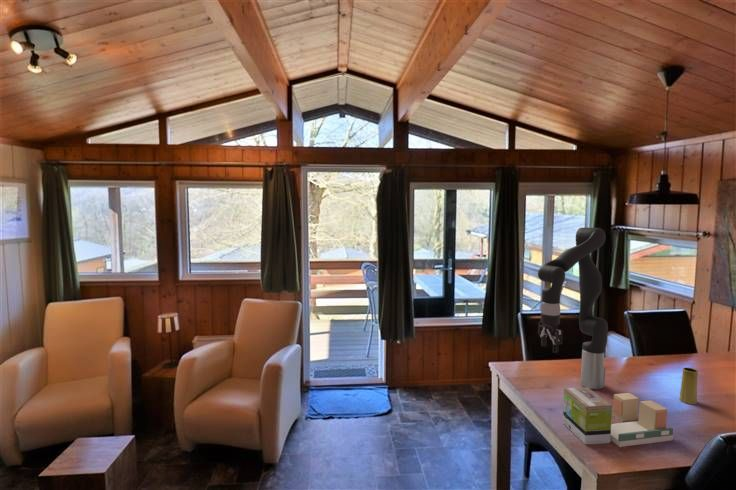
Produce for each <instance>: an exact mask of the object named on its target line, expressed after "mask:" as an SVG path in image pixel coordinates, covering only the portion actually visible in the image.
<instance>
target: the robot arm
mask: <svg viewBox="0 0 736 490" xmlns="http://www.w3.org/2000/svg"><path fill="white" fill-rule="evenodd" d="M605 242H606V232H605V230H604V229H602V228H600V227H580V228H578V229H577V230H576V233H575V246H573V247H570V248H568V249H565V250H564V251H563V252H561V254H560V255H558V256H557V257H556V258H554V259H552V260H550V261H547V262H546V263H544V264H543V265H542V266H541V265H540V268H539V270H538V271H537V277H538V279H539V280H540V281H542V282H545V283H550V284H551V286H549V287H544V288H543V289H542V290H541V304H540V305H541V306H540V321H539V322H538V324H537V325H538V327H537V335H538V336H539V337H540V339H541V340H540V345H541V347H547V346H548V345H547V343H548V338H547V337H549V339H550V340H551V342H552V353H553V354H558V353H559V351H560V345H563V343H564V342H563V339H564V337H563V335H564V334H563V330H562V329H558V326H559V325H560V323H561V302H560V301H561V299H560V298H561V292H562V291H561V290H562V288H563V286H564V285H563V284H564V281H565V279H566V272H568V271H569V270H571V269H572V268H573V267H574V266H575V265H576V264H577V263H578V282H579V302H580V303H579V304H580V305H579V315H578V316H579V319H578V324H579V327H578V328H579V330H580V331H581V333H582V334H585V335H587V336H590V337H591V341H585V342H583V343H582V347H581V348H582V350H581V370H580V385H581V386H582V387H588V388H589V389H590V390H597V391H598V390H602V389H603V388H605V387H606V385H605V383H606V367H605V352H606V351H605V350H606V347H607V343H608V342H607V341H608V335H609V324H608V321H607V320H606V319H604V318H603V317H597V316H594V311H593V310H594V309H593V308H594V304H595V302H596V301H597V299H598V298H599V296H600V295H601V293H602V290H603V280H602V274H601V272H600V270H599V268H598V267H597V265H596V264H595V263H594V261H593V259H592V257H591V253H593V252H595V251H597V250H598V249H600V248H601V247H603V246H604V244H605Z"/></svg>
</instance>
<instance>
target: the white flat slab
mask: <svg viewBox="0 0 736 490" xmlns="http://www.w3.org/2000/svg"><path fill="white" fill-rule="evenodd" d="M673 438H674V428H673V427H666V428H664V429H656V430H647V429H645V428H644V427H642V426H640V425H639V424H638V420H633V421H624V422H618V423H611V437H610V442H613V444H615V445H616V446H618V447H619V448H622V447H629V446H637V445H645V444H653V443H654V444H655V443H664V442H670V441H673Z"/></svg>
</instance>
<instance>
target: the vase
mask: <svg viewBox="0 0 736 490" xmlns="http://www.w3.org/2000/svg"><path fill="white" fill-rule="evenodd" d="M698 375H699V371H698V370H697V369H696V368H692V367H682V377H681V384H680V385H681V386H680V392H679V400H680V402H682V403H684V404H687V405H697V404H698V379H699V378H698Z"/></svg>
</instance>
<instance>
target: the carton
mask: <svg viewBox="0 0 736 490" xmlns="http://www.w3.org/2000/svg"><path fill="white" fill-rule="evenodd" d="M612 401H613V404H612V417H614V416H615V417H614V418H616V419H617V418H618V420H619V422H620V421H621V423H625V422H634V421H638V420H639V404H640V398H639V397H638V396H635V395H633V394H632V393H630V392H624V393H623V392H622V393H614V394H613V400H612Z"/></svg>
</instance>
